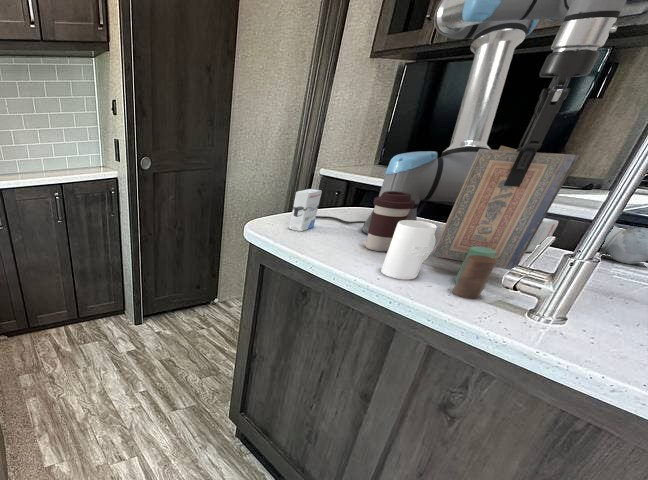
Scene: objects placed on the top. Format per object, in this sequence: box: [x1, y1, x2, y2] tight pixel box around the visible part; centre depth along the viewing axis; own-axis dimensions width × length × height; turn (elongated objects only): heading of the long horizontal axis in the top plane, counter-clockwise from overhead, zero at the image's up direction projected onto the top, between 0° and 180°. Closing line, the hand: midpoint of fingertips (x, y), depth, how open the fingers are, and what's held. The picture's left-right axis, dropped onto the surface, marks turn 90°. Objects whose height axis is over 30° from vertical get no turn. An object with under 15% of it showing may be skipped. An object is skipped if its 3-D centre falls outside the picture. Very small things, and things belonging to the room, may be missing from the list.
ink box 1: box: [288, 188, 323, 232], centre depth 131 cm, size 8×5×12 cm, turn 132°
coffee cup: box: [365, 191, 415, 253], centre depth 112 cm, size 10×10×15 cm
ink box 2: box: [525, 217, 559, 253], centre depth 112 cm, size 9×5×12 cm
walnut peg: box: [452, 255, 497, 299], centre depth 86 cm, size 5×5×8 cm
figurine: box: [598, 225, 648, 265], centre depth 104 cm, size 10×9×15 cm
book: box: [431, 145, 580, 271], centre depth 90 cm, size 17×7×25 cm, turn 55°
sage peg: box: [454, 246, 497, 284], centre depth 91 cm, size 5×5×8 cm
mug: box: [380, 219, 438, 280], centre depth 96 cm, size 8×12×12 cm
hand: (510, 183), depth 88 cm, fingers closed on book, 7 cm apart
